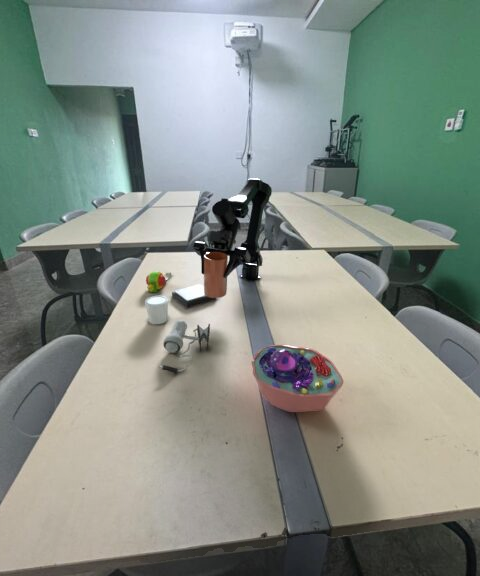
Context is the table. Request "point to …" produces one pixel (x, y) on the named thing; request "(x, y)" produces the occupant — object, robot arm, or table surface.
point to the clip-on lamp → (175, 341)
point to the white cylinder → (157, 309)
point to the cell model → (295, 378)
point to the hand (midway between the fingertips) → (213, 275)
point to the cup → (215, 274)
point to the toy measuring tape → (156, 280)
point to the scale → (191, 296)
